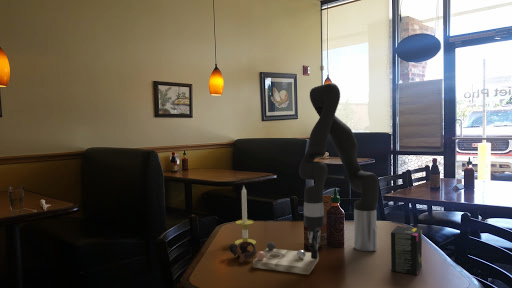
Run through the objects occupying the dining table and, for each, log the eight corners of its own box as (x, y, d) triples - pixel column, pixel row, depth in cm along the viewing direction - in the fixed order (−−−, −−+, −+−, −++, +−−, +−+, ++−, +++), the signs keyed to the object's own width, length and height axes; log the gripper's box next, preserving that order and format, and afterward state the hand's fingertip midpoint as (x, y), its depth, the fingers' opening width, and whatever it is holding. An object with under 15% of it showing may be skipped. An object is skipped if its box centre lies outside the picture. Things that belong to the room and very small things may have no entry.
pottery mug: (257, 255, 164) (260, 242, 160) (251, 272, 157) (253, 259, 152) (230, 247, 166) (232, 233, 162) (223, 264, 159) (224, 250, 154)
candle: (251, 247, 174) (250, 187, 173) (231, 245, 178) (229, 186, 176) (259, 240, 184) (257, 183, 182) (239, 238, 187) (238, 183, 185)
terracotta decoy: (266, 258, 152) (266, 250, 151) (263, 261, 149) (263, 253, 148) (258, 257, 153) (258, 249, 153) (255, 260, 150) (254, 252, 150)
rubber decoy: (276, 249, 163) (276, 241, 163) (273, 251, 160) (273, 243, 159) (268, 248, 164) (268, 240, 164) (266, 251, 161) (265, 242, 161)
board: (318, 259, 157) (318, 253, 156) (308, 274, 142) (308, 267, 142) (267, 253, 165) (267, 248, 165) (253, 267, 150) (252, 260, 150)
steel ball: (306, 257, 152) (306, 249, 152) (304, 260, 149) (304, 252, 148) (298, 256, 153) (298, 248, 153) (295, 259, 150) (295, 251, 150)
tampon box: (417, 276, 138) (417, 235, 137) (390, 271, 143) (390, 232, 142) (422, 266, 147) (422, 227, 146) (397, 261, 152) (397, 224, 151)
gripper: (319, 218, 140) (320, 265, 141) (327, 210, 152) (327, 253, 153) (299, 217, 143) (300, 263, 144) (308, 209, 155) (309, 251, 156)
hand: (314, 258), depth 149 cm, fingers closed
